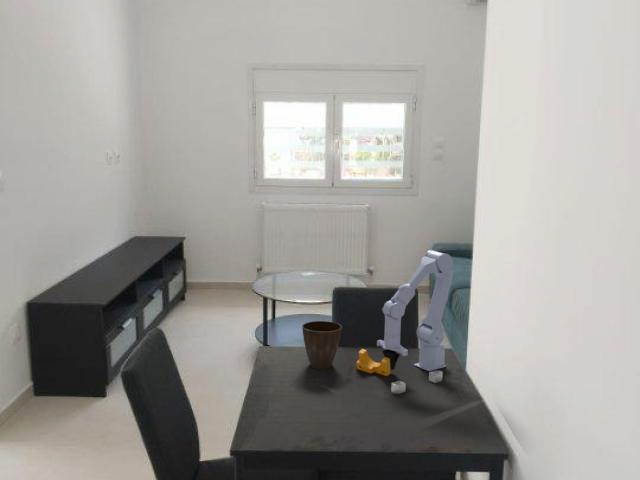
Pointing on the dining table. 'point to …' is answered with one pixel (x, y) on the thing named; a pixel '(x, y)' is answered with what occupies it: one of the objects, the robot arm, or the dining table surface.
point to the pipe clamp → (373, 364)
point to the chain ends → (401, 386)
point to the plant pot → (321, 342)
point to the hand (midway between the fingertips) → (391, 369)
